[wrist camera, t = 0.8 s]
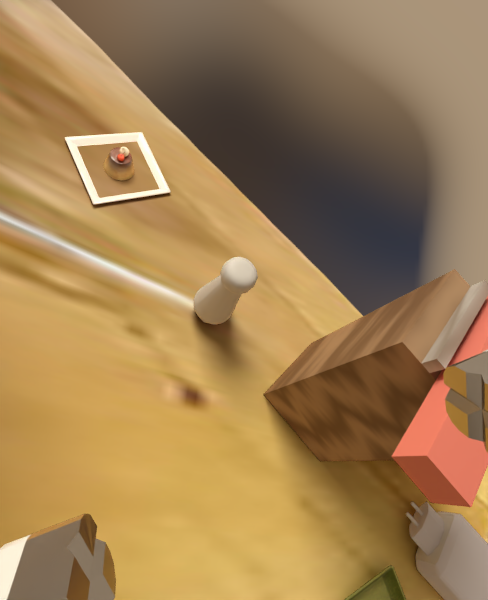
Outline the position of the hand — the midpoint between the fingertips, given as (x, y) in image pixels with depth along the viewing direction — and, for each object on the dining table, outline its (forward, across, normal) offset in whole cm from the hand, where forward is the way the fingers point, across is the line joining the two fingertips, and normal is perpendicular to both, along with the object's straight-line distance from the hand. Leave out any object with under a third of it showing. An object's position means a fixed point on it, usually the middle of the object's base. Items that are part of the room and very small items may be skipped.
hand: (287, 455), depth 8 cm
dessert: (+57, +3, -10) cm, 58 cm away
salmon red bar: (+16, -20, +15) cm, 29 cm away
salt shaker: (+44, -3, +12) cm, 46 cm away
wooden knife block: (+37, -14, +28) cm, 49 cm away
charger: (+26, -22, +50) cm, 61 cm away
